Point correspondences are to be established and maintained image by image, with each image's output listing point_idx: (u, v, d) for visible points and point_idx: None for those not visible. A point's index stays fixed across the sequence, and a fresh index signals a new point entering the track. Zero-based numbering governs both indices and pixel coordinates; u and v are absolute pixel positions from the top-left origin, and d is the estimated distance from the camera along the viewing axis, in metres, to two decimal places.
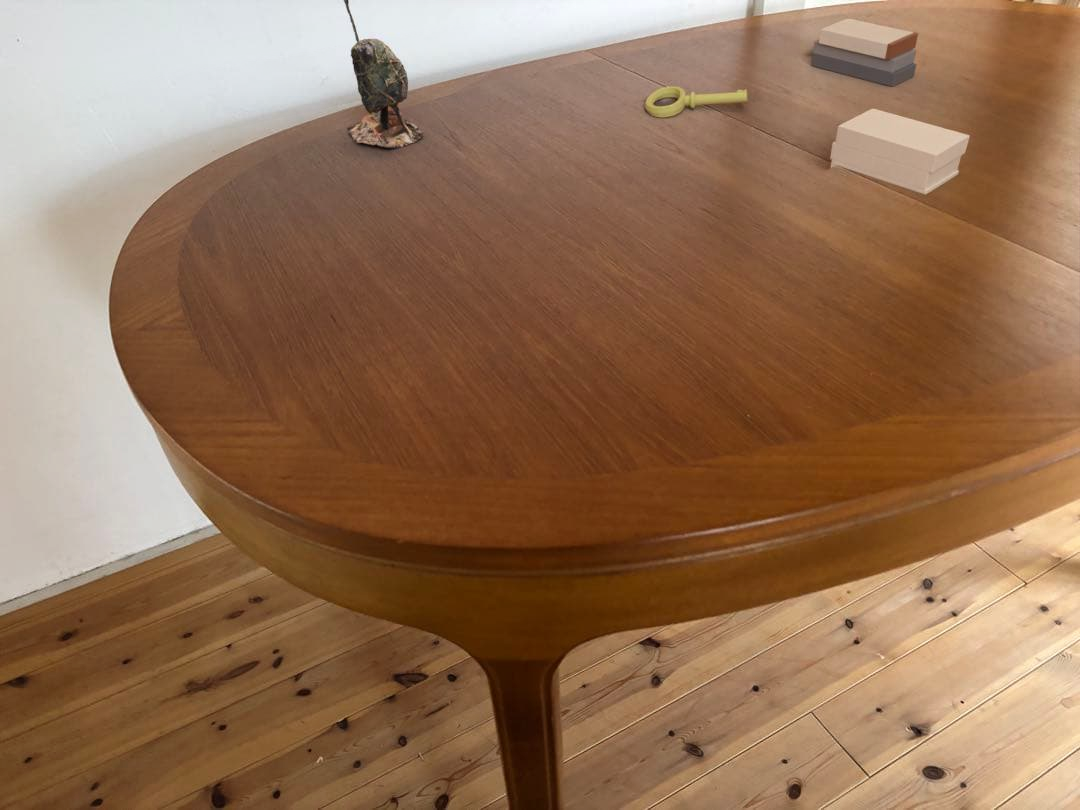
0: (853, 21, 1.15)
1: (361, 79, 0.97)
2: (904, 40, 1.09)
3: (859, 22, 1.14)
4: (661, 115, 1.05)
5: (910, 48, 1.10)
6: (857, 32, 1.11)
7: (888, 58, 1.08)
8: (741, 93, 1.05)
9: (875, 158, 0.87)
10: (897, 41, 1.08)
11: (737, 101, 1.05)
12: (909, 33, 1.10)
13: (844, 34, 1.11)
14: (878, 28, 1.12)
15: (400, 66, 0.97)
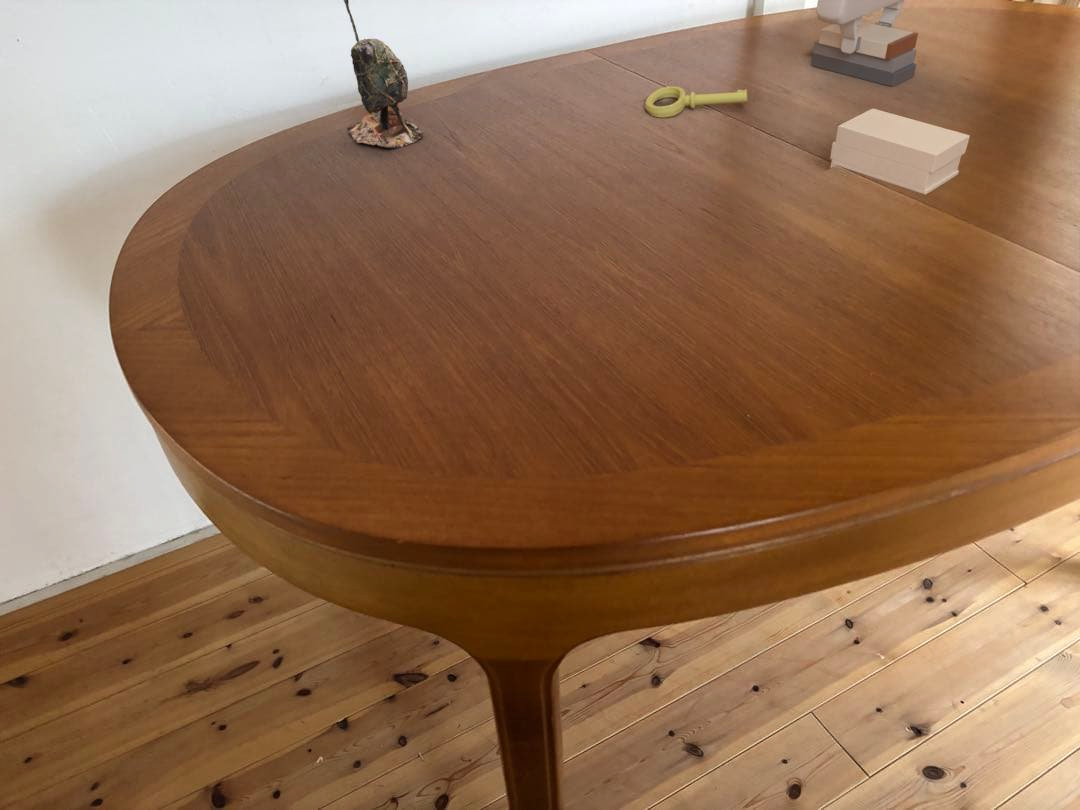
0: None
1: (361, 79, 0.97)
2: (904, 40, 1.09)
3: None
4: (661, 115, 1.05)
5: (910, 48, 1.10)
6: None
7: (888, 58, 1.08)
8: (741, 93, 1.05)
9: (875, 158, 0.87)
10: (897, 41, 1.08)
11: (737, 101, 1.05)
12: (909, 33, 1.10)
13: None
14: (878, 28, 1.12)
15: (400, 66, 0.97)
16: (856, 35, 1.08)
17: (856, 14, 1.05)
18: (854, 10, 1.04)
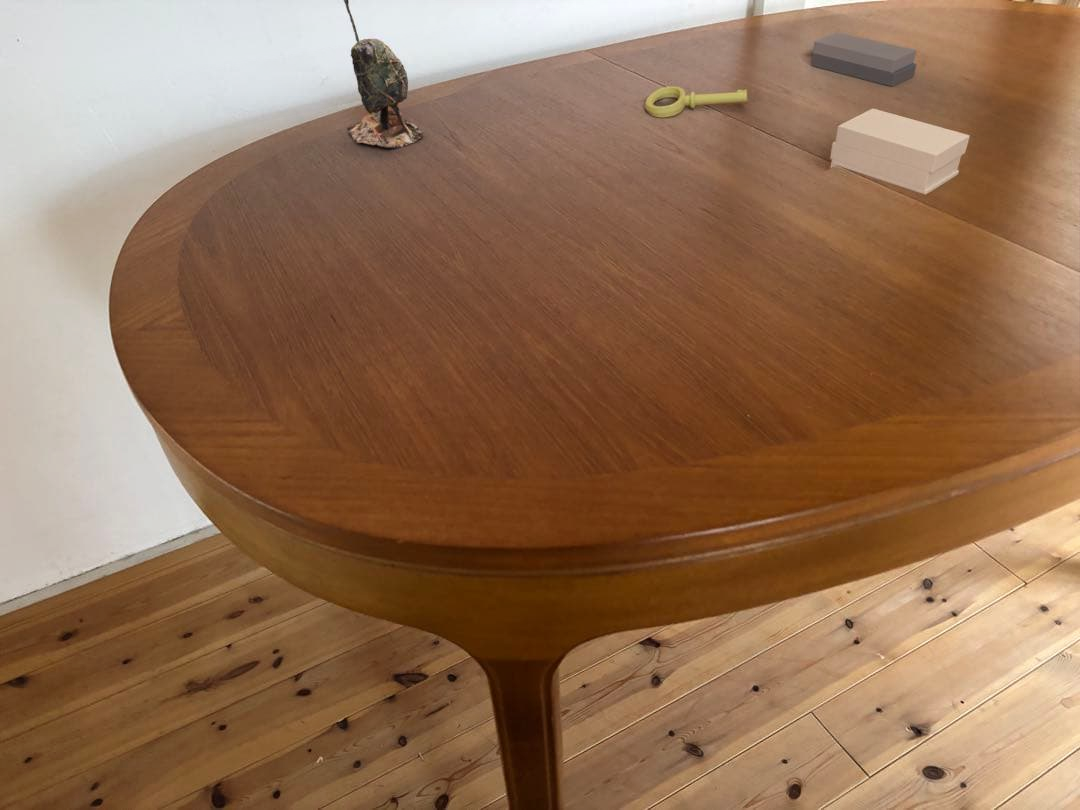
0: None
1: (361, 79, 0.97)
2: None
3: None
4: (661, 115, 1.05)
5: None
6: None
7: None
8: (741, 93, 1.05)
9: (875, 158, 0.87)
10: None
11: (737, 101, 1.05)
12: None
13: None
14: None
15: (400, 66, 0.97)
16: None
17: None
18: None
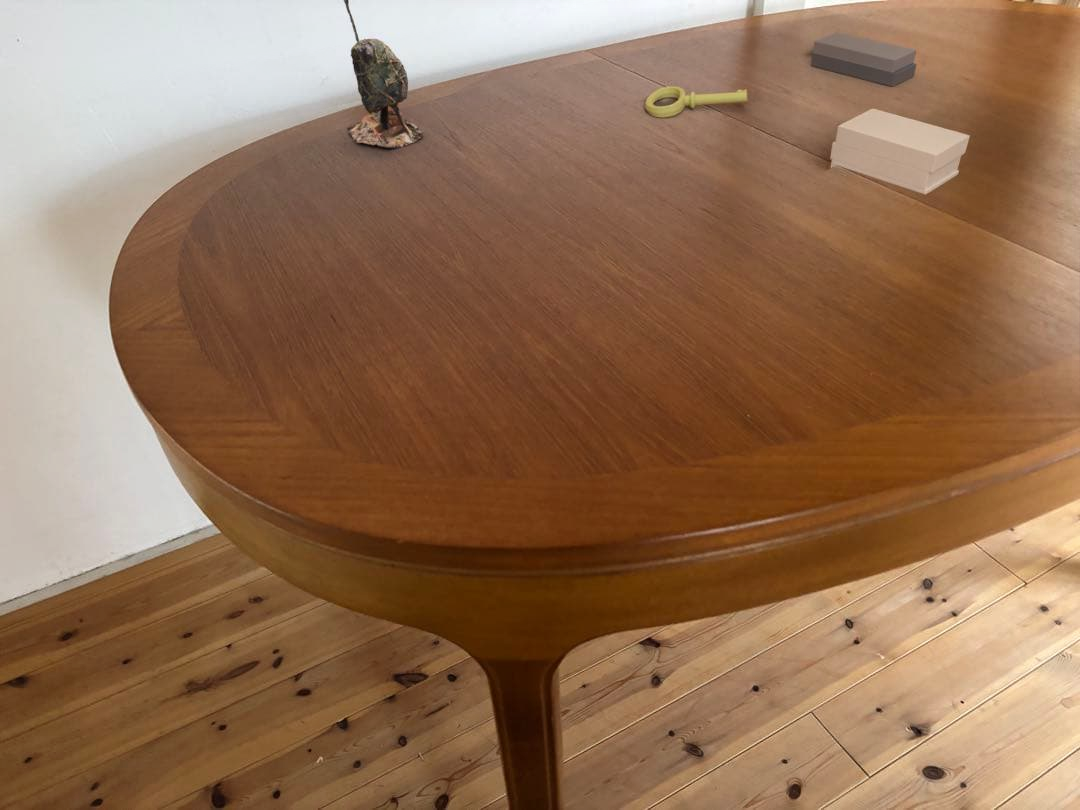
0: None
1: (361, 79, 0.97)
2: None
3: None
4: (661, 115, 1.05)
5: None
6: None
7: None
8: (741, 93, 1.05)
9: (875, 158, 0.87)
10: None
11: (737, 101, 1.05)
12: None
13: None
14: None
15: (400, 66, 0.97)
16: None
17: None
18: None
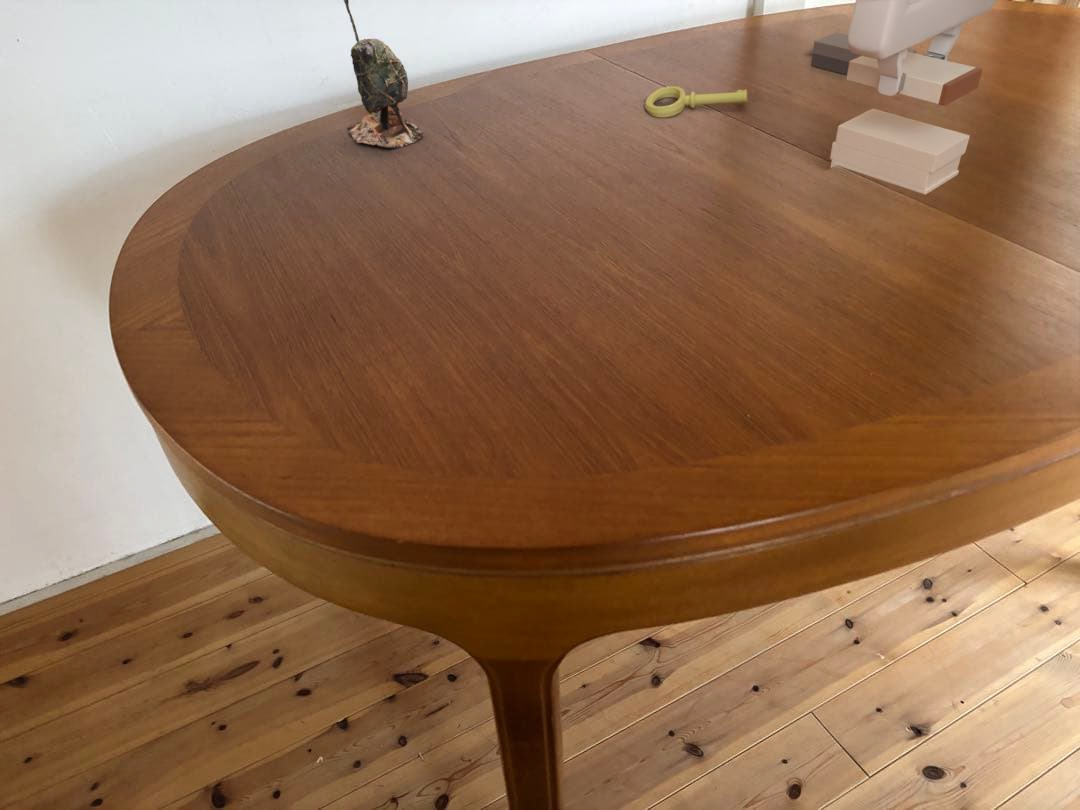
0: None
1: (361, 79, 0.97)
2: (965, 79, 0.80)
3: None
4: (661, 115, 1.05)
5: (971, 89, 0.81)
6: None
7: (943, 103, 0.79)
8: (741, 93, 1.05)
9: (875, 158, 0.87)
10: (956, 80, 0.79)
11: (737, 101, 1.05)
12: (970, 69, 0.81)
13: None
14: (927, 61, 0.83)
15: (400, 66, 0.97)
16: (900, 72, 0.79)
17: (902, 44, 0.76)
18: (900, 39, 0.75)
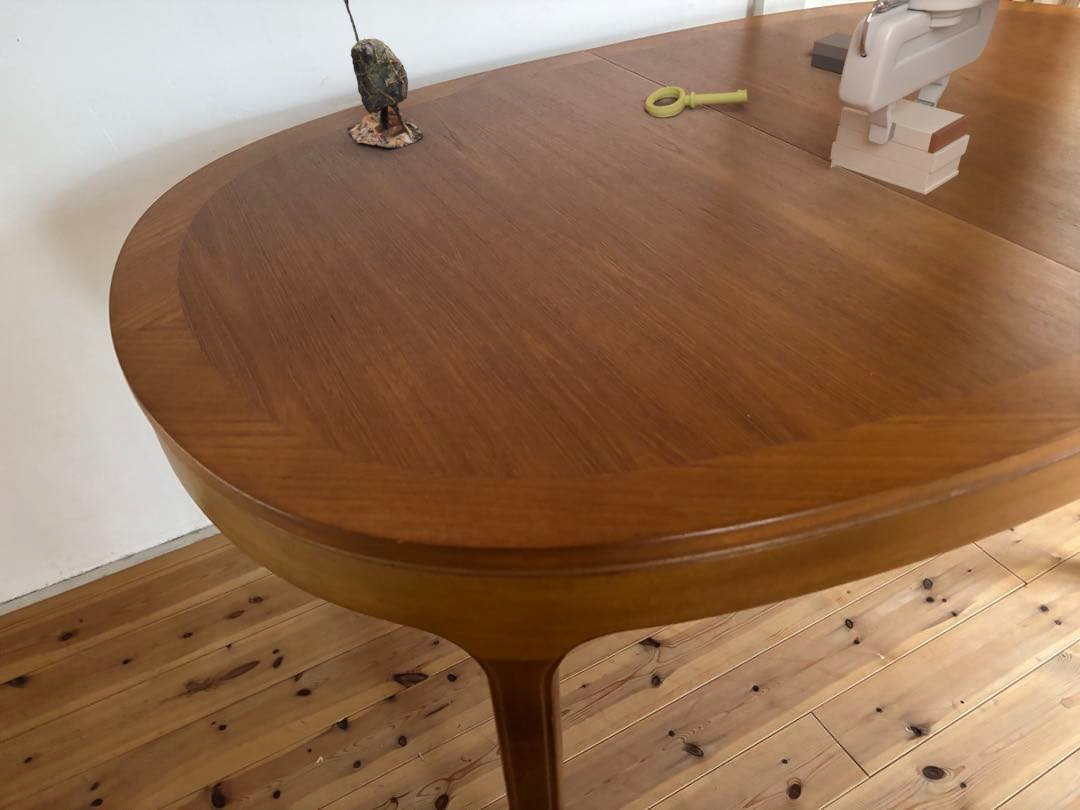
0: None
1: (361, 79, 0.97)
2: (953, 127, 0.82)
3: None
4: (661, 115, 1.05)
5: (960, 136, 0.84)
6: None
7: (932, 151, 0.82)
8: (741, 93, 1.05)
9: (875, 158, 0.87)
10: (944, 129, 0.82)
11: (737, 101, 1.05)
12: (959, 116, 0.84)
13: None
14: (917, 108, 0.86)
15: (400, 66, 0.97)
16: (889, 122, 0.82)
17: (891, 98, 0.79)
18: (889, 93, 0.78)
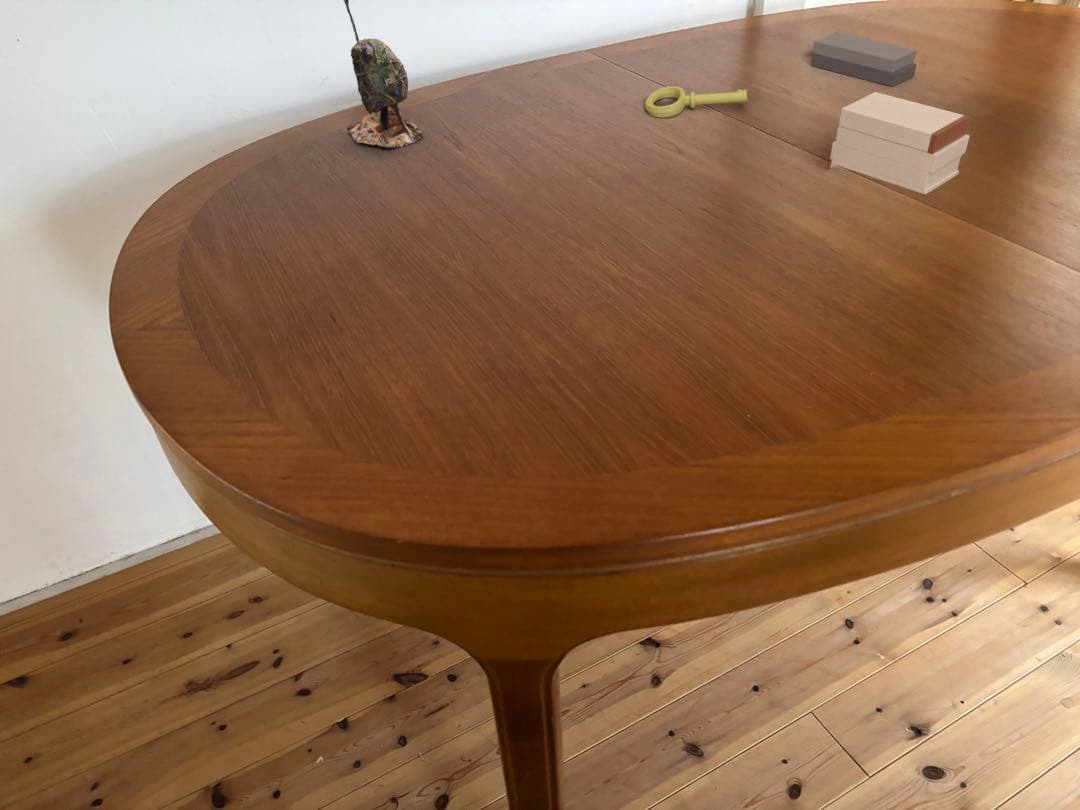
0: (883, 96, 0.89)
1: (361, 79, 0.97)
2: (953, 127, 0.82)
3: (891, 98, 0.88)
4: (661, 115, 1.05)
5: (959, 136, 0.84)
6: (889, 114, 0.85)
7: (932, 152, 0.82)
8: (741, 93, 1.05)
9: (875, 158, 0.87)
10: (944, 129, 0.82)
11: (737, 101, 1.05)
12: (958, 117, 0.84)
13: (873, 117, 0.85)
14: (917, 108, 0.86)
15: (400, 66, 0.97)
16: None
17: None
18: None
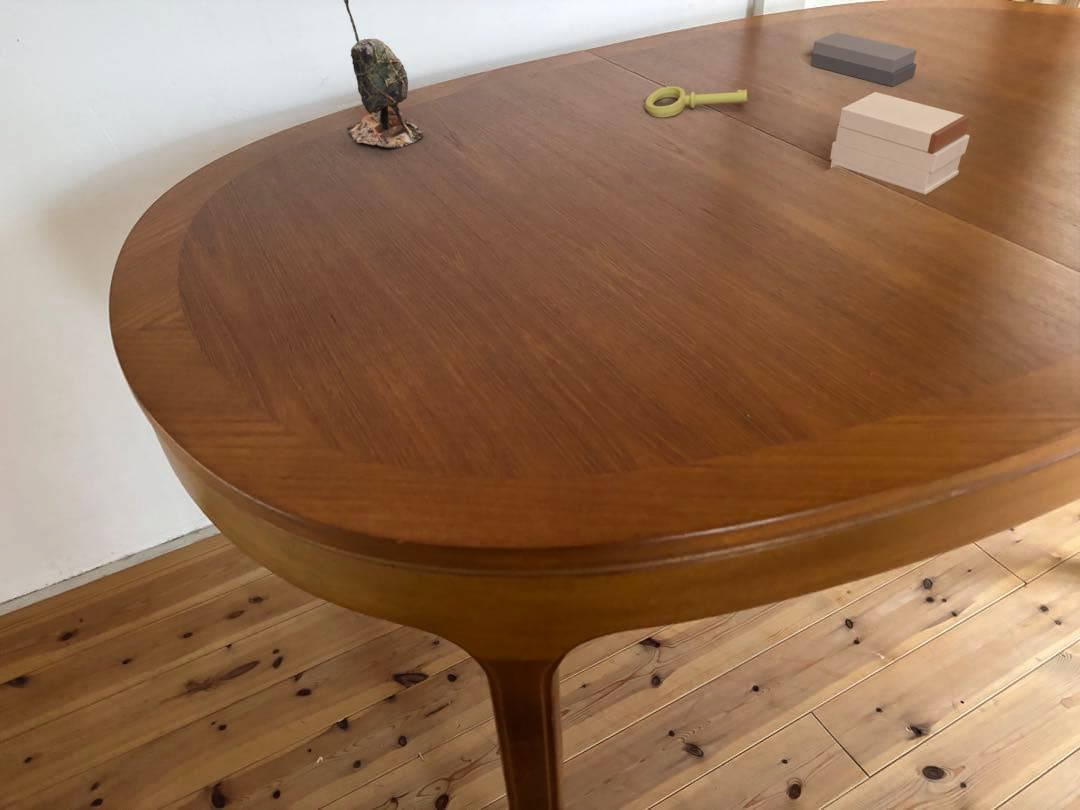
0: (883, 96, 0.89)
1: (361, 79, 0.97)
2: (953, 127, 0.82)
3: (891, 98, 0.88)
4: (661, 115, 1.05)
5: (959, 136, 0.84)
6: (889, 114, 0.85)
7: (932, 152, 0.82)
8: (741, 93, 1.05)
9: (875, 158, 0.87)
10: (944, 129, 0.82)
11: (737, 101, 1.05)
12: (958, 117, 0.84)
13: (873, 117, 0.85)
14: (917, 108, 0.86)
15: (400, 66, 0.97)
16: None
17: None
18: None
